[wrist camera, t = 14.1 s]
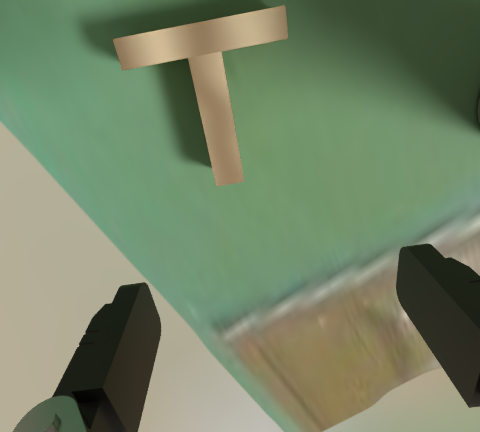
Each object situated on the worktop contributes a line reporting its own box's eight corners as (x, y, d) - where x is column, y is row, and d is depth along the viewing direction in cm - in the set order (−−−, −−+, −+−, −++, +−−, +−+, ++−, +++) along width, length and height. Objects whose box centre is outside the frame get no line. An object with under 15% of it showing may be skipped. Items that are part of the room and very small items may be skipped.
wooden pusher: (276, 11, 25) (285, 4, 22) (290, 156, 31) (299, 171, 27) (129, 40, 26) (112, 39, 22) (169, 177, 31) (161, 196, 28)
